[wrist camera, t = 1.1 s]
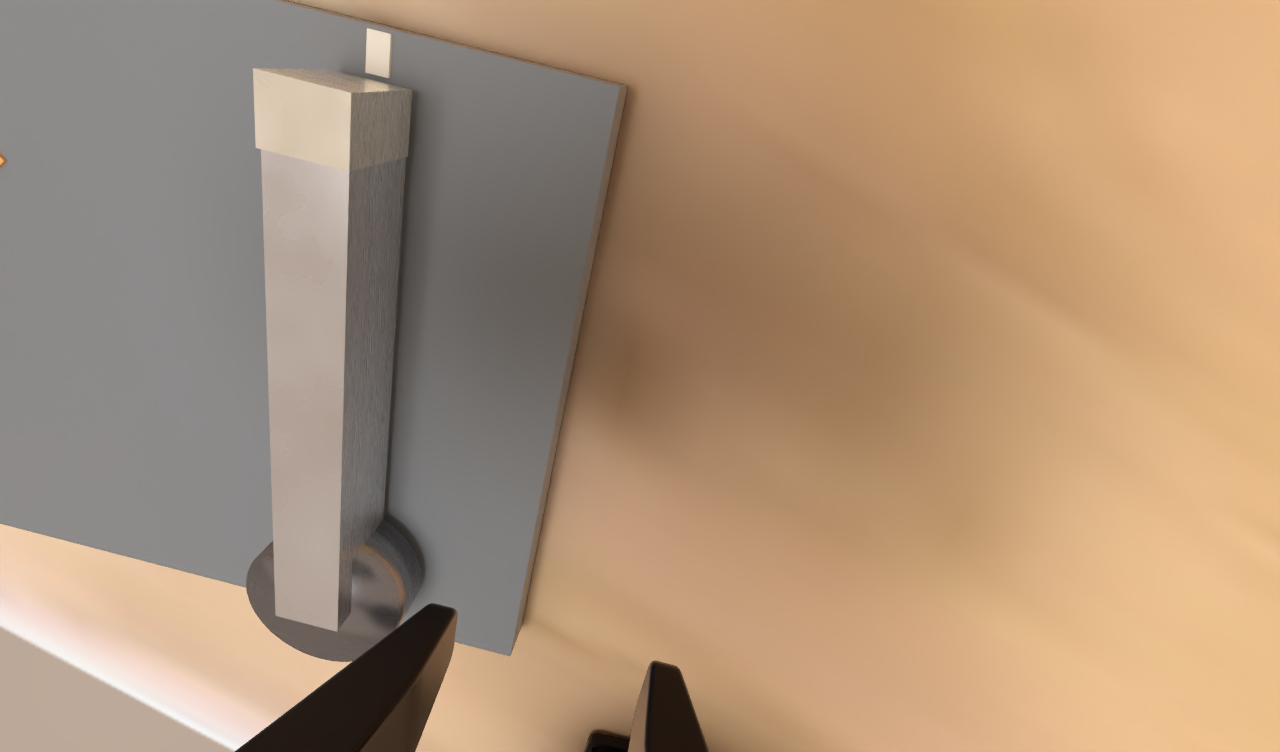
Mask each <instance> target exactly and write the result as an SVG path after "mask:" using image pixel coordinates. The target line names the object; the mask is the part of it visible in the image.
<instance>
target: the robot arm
mask: <svg viewBox="0 0 1280 752" xmlns="http://www.w3.org/2000/svg"><path fill="white" fill-rule="evenodd" d="M457 618H458V614H457V611H456V609H454V608H451V607H447V606H443V605H440V604H436V603H431V604H428V605H426V606H425V607H423V608H422V609H421V610H419V611H418V612H417V613H416V614H414V615H413V616H412V617H410V618H409V619H408V620H406V621H405V622H404V623H402V624H401V625H400V626H399V627H397V628H396V629H395V630H393V631H392V632H391V633H389V634H388V635H387V636H385V637H384V638H383V639H382V640H380V641H379V642H378V643H376V644H375V645H374V646H372V647H371V648H370V649H368V650H367V651H366V652H365V653H363V654H362V655H361V656H359V657H358V658H357V659H355V660H354V661H353V662H351V663H350V664H349V665H348V666H346V667H345V668H344V669H342V670H341V671H340V672H338V673H337V674H336V675H334V676H333V677H332V678H331V679H329V680H328V681H327V682H325V683H324V684H323V685H321V686H320V687H319V688H317V689H316V690H315V691H314V692H312V693H311V694H310V695H308V696H307V697H306V698H304V699H303V700H302V701H300V702H299V703H298V704H297V705H295V706H294V707H293V708H291V709H290V710H289V711H287V712H286V713H285V714H283V715H282V716H281V717H279V718H278V719H277V720H276V721H274V722H273V723H272V724H270V725H269V726H268V727H266V728H265V729H264V730H262V731H261V732H260V733H259V734H257V735H256V736H255V737H253V738H252V739H251V740H249V741H248V742H247V743H245V744H244V745H243V746H242V747H240V748H239V749H238V750H236V751H235V752H415V750H416V748H417V745H418V743H419V740H420V738H421V735H422V732H423V730H424V727H425V725H426V722H427V720H428V717H429V715H430V712H431V709H432V707H433V704H434V702H435V699H436V697H437V694H438V691H439V689H440V686H441V684H442V681H443V679H444V676H445V673H446V671H447V668H448V666H449V663H450V660H451V656H452V653H453V648H454V640H455V633H456V626H457ZM584 752H709V749H708V747H707V744H706V741H705V738H704V735H703V732H702V730H701V727H700V724H699V721H698V718H697V716H696V713H695V710H694V707H693V704H692V701H691V699H690V696H689V693H688V690H687V687H686V684H685V682H684V679H683V676H682V673H681V671H680V669H679V668H678V667H677V666H674V665H671V664H667V663H663V662H659V661H652V662H651V663H650V665H649V667H648V670H647V673H646V676H645V679H644V683H643V686H642V689H641V692H640V695H639V698H638V701H637V705H636V710H635V715H634V720H633V726H632V731H631V737H630V742H629V741H625V740H621V739H617V738H613V737H610V736H606V735H602V734H593V735H591V736H590V737H589V738H588V741H587V744H586V748H585V751H584Z"/></svg>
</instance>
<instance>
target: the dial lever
mask: <svg viewBox="0 0 1280 752" xmlns="http://www.w3.org/2000/svg"><path fill="white" fill-rule="evenodd" d="M253 85H254V114H255V143H256V148H258V149H261V168H262V200H263V232H264V264H265V296H266V328H267V360H268V392H269V424H270V456H271V487H272V519H273V541H272V542H271V543H270V544H269V545H268V546H267V547H266V548H265V549H264V550H263V551H262V552H261V553H260V554H259V555H258V556H257V557H256V558H255V559H254V561H253V562H252V564H251V565H250V568H249V570H248V573H247V578H246V588H247V594H248V597H249V601H250V603H251V605H252V607H253V609H254V611H255V613H256V614H257V616H258V617H259V619H260V620H261V621H262V623H263V624H264V625H265V626H266V627H267V628H268V629H269V630H270V631H271V632H272V633H273V634H275V635H276V636H277V637H278V638H279V639H281V640H282V641H284V642H285V643H287V644H288V645H290V646H292V647H293V648H295V649H297V650H299V651H301V652H303V653H306V654H308V655H311V656H314V657H317V658H321V659H325V660H330V661H339V662H349V661H354V660H355V659H357V658H358V657H359V656H361V655H362V654H363V653H365V652H366V651H367V650H368V649H370V648H371V647H372V646H374V645H375V644H376V643H378V642H379V641H380V640H382V639H383V638H384V637H385V636H387V635H388V634H389V633H391V632H392V631H393V630H395V629H396V628H397V627H399V625H400V623H401V622H402V620H403V618H404V617H405V615H406V613H407V612H408V610H409V608H410V606H411V605H412V603H413V601H414V600H415V598H416V596H417V595H418V592H419V590H420V587H421V581H422V573H421V566H420V563H419V560H418V557H417V555H416V553H415V551H414V549H413V548H412V546H411V545H410V543H409V542H408V541H407V539H406V538H405V537H404V536H403V535H402V534H401V533H400V532H399V531H398V530H397V529H396V528H395V527H393V526H392V525H391V524H390V523H388V522H387V521H385V520H384V519H383V517H384V501H385V485H386V469H387V453H388V437H389V421H390V405H391V389H392V373H393V357H394V341H395V325H396V309H397V293H398V276H399V260H400V244H401V228H402V212H403V196H404V180H405V164H406V157H408V147H409V131H410V116H411V100H412V90H410V89H406V88H402V87H398V86H394V85H390V84H386V83H382V82H378V81H374V80H370V79H366V78H362V77H358V76H354V75H350V74H346V73H342V72H338V71H334V70H330V69H275V68H253Z"/></svg>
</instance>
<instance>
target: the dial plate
mask: <svg viewBox="0 0 1280 752" xmlns="http://www.w3.org/2000/svg"><path fill="white" fill-rule="evenodd" d="M253 68H275V69H330V70H334V71H338V72H342V73H346V74H350V75H354V76H358V77H362V78H366V79H370V80H374V81H378V82H382V83H386V84H390V85H394V86H398V87H402V88H406V89H410V90H412V100H411V116H410V131H409V147H408V157H406V164H405V180H404V196H403V212H402V228H401V244H400V260H399V276H398V293H397V309H396V325H395V341H394V357H393V373H392V389H391V405H390V421H389V437H388V453H387V469H386V485H385V501H384V517H383V519H384V520H385V521H387V522H388V523H390V524H391V525H392V526H393V527H395V528H396V529H397V530H398V531H399V532H400V533H401V534H402V535H403V536H404V537H405V538H406V539H407V541H408V542H409V543H410V545H411V546H412V548H413V549H414V551H415V553H416V555H417V557H418V560H419V563H420V566H421V573H422V581H421V587H420V590H419V592H418V595H417V596H416V598H415V600H414V601H413V603H412V605H411V606H410V608H409V610H408V612H407V613H406V615H405V617H404V618H403V620H402V622H401V623H400V625H401V624H402V623H404V622H405V621H406V620H408V619H409V618H410V617H412V616H413V615H414V614H416V613H417V612H418V611H419V610H421V609H422V608H423V607H425V606H426V605H428V604H431V603H436V604H440V605H443V606H447V607H451V608H454V609H456V611H457V614H458V618H457V626H456V633H455V640H454V642H457V643H461V644H465V645H469V646H473V647H477V648H480V649H484V650H488V651H492V652H496V653H500V654H503V655H507V656H511V653H512V650H513V648H514V645H515V642H516V639H517V637H518V634H519V631H520V629H521V626H522V621H523V616H524V611H525V606H526V600H527V595H528V590H529V585H530V580H531V575H532V570H533V565H534V560H535V555H536V550H537V545H538V540H539V534H540V529H541V524H542V519H543V514H544V509H545V504H546V499H547V494H548V489H549V484H550V479H551V474H552V469H553V463H554V458H555V453H556V448H557V443H558V438H559V433H560V428H561V423H562V418H563V413H564V408H565V403H566V397H567V392H568V387H569V382H570V377H571V372H572V367H573V362H574V357H575V352H576V347H577V342H578V337H579V331H580V326H581V321H582V316H583V311H584V306H585V301H586V296H587V291H588V286H589V281H590V276H591V271H592V265H593V260H594V255H595V250H596V245H597V240H598V235H599V230H600V225H601V220H602V215H603V210H604V205H605V199H606V194H607V189H608V184H609V179H610V174H611V169H612V164H613V159H614V154H615V149H616V144H617V139H618V133H619V128H620V123H621V118H622V113H623V108H624V103H625V98H626V93H627V88H628V86H627V85H623V84H619V83H615V82H611V81H607V80H603V79H599V78H595V77H591V76H587V75H583V74H579V73H575V72H571V71H567V70H563V69H559V68H555V67H551V66H547V65H543V64H539V63H535V62H531V61H527V60H523V59H519V58H515V57H511V56H507V55H503V54H499V53H495V52H491V51H487V50H483V49H479V48H475V47H471V46H467V45H463V44H459V43H455V42H451V41H447V40H443V39H439V38H435V37H431V36H427V35H423V34H419V33H415V32H411V31H407V30H403V29H399V28H395V27H391V26H387V25H383V24H379V23H375V22H371V21H367V20H363V19H359V18H355V17H351V16H347V15H343V14H339V13H335V12H331V11H327V10H323V9H319V8H315V7H311V6H307V5H303V4H299V3H295V2H291V1H287V0H0V524H4V525H8V526H12V527H15V528H19V529H23V530H27V531H31V532H35V533H38V534H42V535H46V536H50V537H54V538H58V539H62V540H65V541H69V542H73V543H77V544H81V545H85V546H88V547H92V548H96V549H100V550H104V551H108V552H111V553H115V554H119V555H123V556H127V557H131V558H135V559H138V560H142V561H146V562H150V563H154V564H158V565H161V566H165V567H169V568H173V569H177V570H181V571H184V572H188V573H192V574H196V575H200V576H204V577H208V578H211V579H215V580H219V581H223V582H227V583H231V584H234V585H238V586H242V587H246V578H247V573H248V570H249V568H250V565H251V564H252V562H253V561H254V559H255V558H256V557H257V556H258V555H259V554H260V553H261V552H262V551H263V550H264V549H265V548H266V547H267V546H268V545H269V544H270V543H271V542H272V541H273V519H272V487H271V456H270V424H269V392H268V360H267V328H266V296H265V264H264V232H263V200H262V168H261V149H258V148H256V143H255V114H254V85H253ZM400 625H399V626H400Z"/></svg>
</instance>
